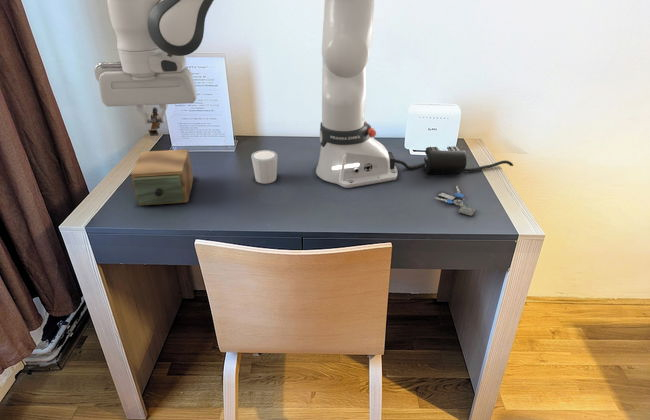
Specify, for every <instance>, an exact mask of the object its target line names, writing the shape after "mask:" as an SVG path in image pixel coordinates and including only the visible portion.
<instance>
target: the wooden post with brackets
mask: <svg viewBox="0 0 650 420" xmlns="http://www.w3.org/2000/svg"><path fill="white" fill-rule="evenodd" d="M158 110H159V109H158V107H156V106H154V107H152V113H151V114H152V123H151V127H150V129H148V134H149V136H150V137H158V136H159V131H158V130H159V129H161V123H158V122H157V121H158V120H157V117H156V116H157V114H159V112H158Z"/></svg>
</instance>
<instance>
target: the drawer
mask: <svg viewBox="0 0 650 420" xmlns="http://www.w3.org/2000/svg"><path fill="white" fill-rule="evenodd" d="M133 182H134V185H133V187H134V186H135V189H136V193H137V197H138V200H137V202H138V201H139V204H138V206H139V205H141V206H146V205H145V204H155V205H161V204H160V203H169V204H175V203H174V202H184V201H185V197H184V192H183V187H182V182H181V177H180V175H179V174H175V175H159V176H142V177H136V178H134V179H133V181H132V183H133ZM135 189H134V190H135ZM136 193H135V194H136ZM137 197H136V198H137ZM184 203H185V202H184Z"/></svg>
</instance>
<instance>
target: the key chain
mask: <svg viewBox="0 0 650 420" xmlns="http://www.w3.org/2000/svg"><path fill="white" fill-rule="evenodd" d="M455 188H456V189H455V190H456V192H455V193H454V196H453V195H451V194H447V193H445V192H441V193H439V194H438V196H440V197H441V198H440V197H437V196H434V200H437V201H440V202H445V204H449V205H450V204H451V205H452V204H454V205H456V206H458V207H460V208H459V209H458V213H459V214H463V215H467V216H469V217H470V216H471V217H472V216H473V215H474V214H475V211H476V209H475V208H472V207H469V206H466V205H465V204H464V201H465V195H464V194H463V193H461V191H460V189H459V186H458V185H455ZM442 197H443V198H442ZM456 198H460V199H461V198H462V199H463V200H460V199H456Z"/></svg>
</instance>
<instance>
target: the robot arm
mask: <svg viewBox="0 0 650 420" xmlns="http://www.w3.org/2000/svg"><path fill="white" fill-rule="evenodd" d="M214 1H215V0H106V3H107V10H108V14H109V19H110V23H111V27H112V29H113V31H114V33H115V37H116V48H117V53H118V58H119V61H111V62H105V61H102V62H101V61H100V62H99V64H96V66H94V69H93V72H94V76H95V79H96V81H97V82H98V88H99V95H100V100H101V103H102V104H103V105H104V106H106V107H108V108H109V107H132V106H135V107H136V110H137V111H138V113H139V114H140V115H141V116H142V117H143V118H144V122H145V124H147V125H148V124H152V116H153V113H149V112H148V111H147V110H146V109H145V107H146V106H155V105H158V107H159V110H161V112H160V113H157V116H156V117H157V120H158V121H157V122H158V123H160V124H165V123H166V116H165V113H166V111H167V109H168V106H169V105H179V104H180V105H182V104H183V105H184V104H185V105H186V104H194V103H195V102H196V100H197V97H198V93H197V87H196V83H195V79H194V77H193V74H192V72H191V70H190V69H189V68H187V67H186V66H187V59H186V57H185V56H188V55H191V54H193V53H194V52H195V51H197V50H198V49H199V47H200V46H201V44H202V42H203V39H204V34H205V24H206V23H205V22H206V17H207V14H208V12H209V10H210V8H211V6H212V5H213V3H214ZM374 11H375V0H324V7H323V22H322V23H323V24H322V41H321V57H322V60H321V61H322V63H321V64H322V70H321V71H322V72H321V73H322V75H321V76H322V77H321V81H322V82H321V122H320V124H319V125H320V126H319V142H320V151H319V157H318V162H317V166H316V169H315V173H316V176H318V178H320V179H321V180H323V181H325V182H327V183H332V184H336V185H338V186H340V187H342V188H345V189H351V188H355V187H356V188H357V187H361V186H362V187H363V186H368V185H374V184H379V183H385V182H390V181H395V180H396V179H397V178H398V168H397V166H396V165H395V164H399V165H402V166H403V167H404V168H405V169H407V170H416V169H420V168H424V165H426V164H425V162H423V163H419V164H417V165H408V164H407V163H406V162H405V161H403V160H400V159H396V158H395V156H394V154H393V153H392V151H388V150H387V148H386V147H385V145H384V144H382V143H381V142H380V141H378V140H377V139H375V137H376V136H377V131H376V130H375V128H373V127H372V125H370V124H369V123H368V122H367V121H366V120H365V116H366V115H365V114H366V98H367V97H366V96H367V90H366V89H367V88H366V87H367V83H366V82H367V81H366V80H367V65H368V63H369V61H370V57H371V51H372V39H373V38H372V37H373V26H374V25H373V24H374ZM505 164H506V165H508V166H509V167H510V166H511V167H514V164H513V162H511V161H510V160H505V159H504V160H500V161H497V162H494V163H491V164H486V165H481V166H476V167H469V168H467V167H466V168H465V170H464V171H463V172H465V173H466V172H475V171H476V172H477V171H480V170H485V169H490V168H491V169H492V168H494V167H497V166H499V165H505Z"/></svg>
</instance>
